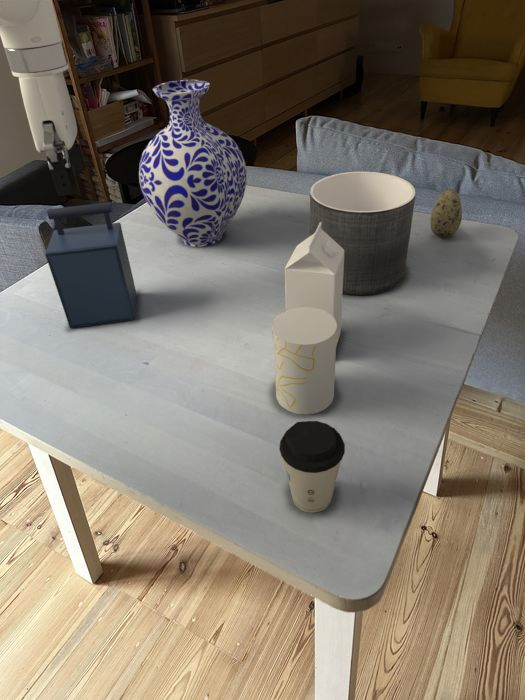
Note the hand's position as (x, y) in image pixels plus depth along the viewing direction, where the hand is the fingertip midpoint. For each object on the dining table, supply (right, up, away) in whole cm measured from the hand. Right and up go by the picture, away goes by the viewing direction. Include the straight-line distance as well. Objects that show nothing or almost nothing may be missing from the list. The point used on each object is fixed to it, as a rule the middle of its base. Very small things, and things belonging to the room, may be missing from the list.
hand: (72, 181), depth 83 cm
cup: (+36, -33, -8) cm, 49 cm away
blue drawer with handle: (+2, -15, +3) cm, 15 cm away
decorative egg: (+67, -3, +27) cm, 72 cm away
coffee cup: (+35, -43, -21) cm, 60 cm away
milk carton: (+38, -25, +1) cm, 46 cm away
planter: (+48, -11, +18) cm, 52 cm away
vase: (+16, -2, +33) cm, 37 cm away
